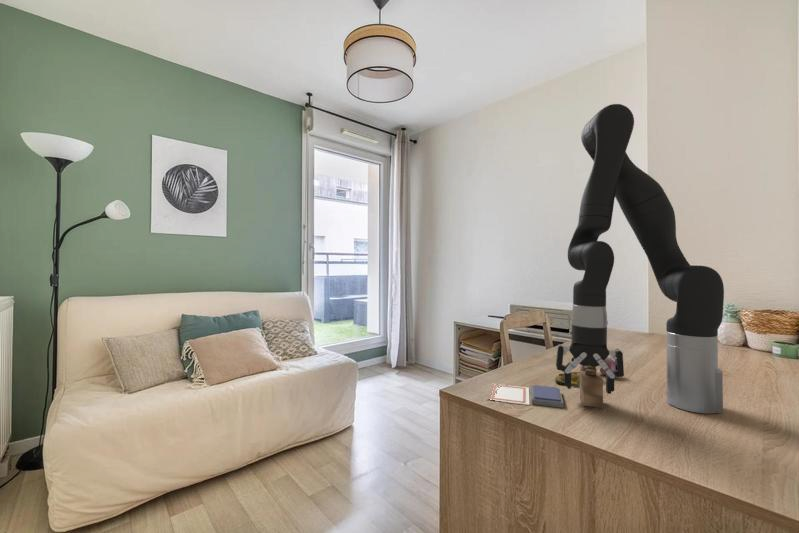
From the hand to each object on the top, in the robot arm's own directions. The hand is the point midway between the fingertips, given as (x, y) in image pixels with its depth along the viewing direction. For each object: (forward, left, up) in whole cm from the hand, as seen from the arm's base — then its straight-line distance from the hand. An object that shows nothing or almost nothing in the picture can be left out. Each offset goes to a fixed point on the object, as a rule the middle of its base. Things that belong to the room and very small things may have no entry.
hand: (588, 390), depth 83 cm
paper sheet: (+18, 0, -3) cm, 19 cm away
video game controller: (-6, -25, -3) cm, 26 cm away
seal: (0, -17, -4) cm, 17 cm away
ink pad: (+9, 0, -3) cm, 10 cm away
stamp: (-1, 0, -3) cm, 3 cm away
